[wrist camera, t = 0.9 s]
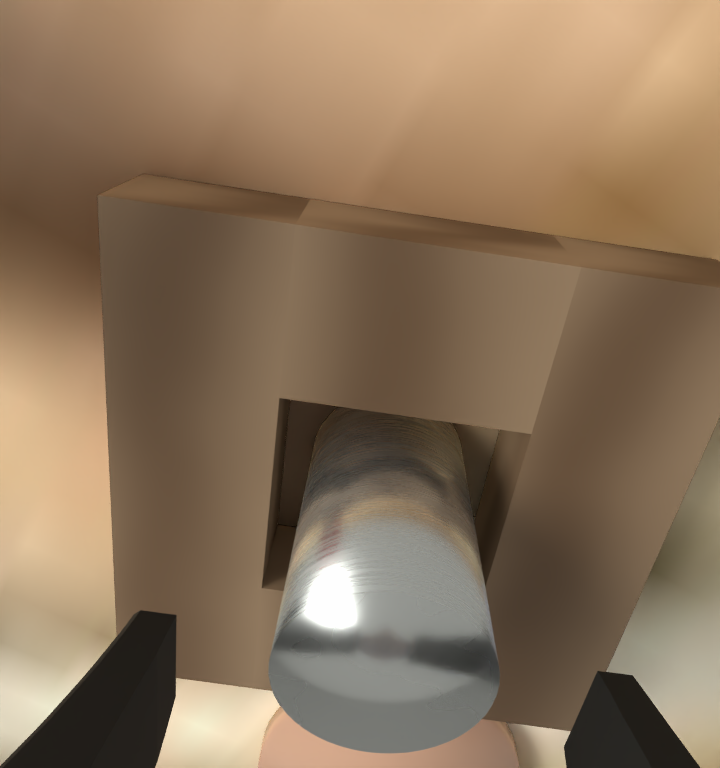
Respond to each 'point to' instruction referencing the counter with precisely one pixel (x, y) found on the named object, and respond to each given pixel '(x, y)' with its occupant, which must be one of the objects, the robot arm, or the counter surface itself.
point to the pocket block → (396, 410)
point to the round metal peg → (385, 591)
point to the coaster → (339, 764)
